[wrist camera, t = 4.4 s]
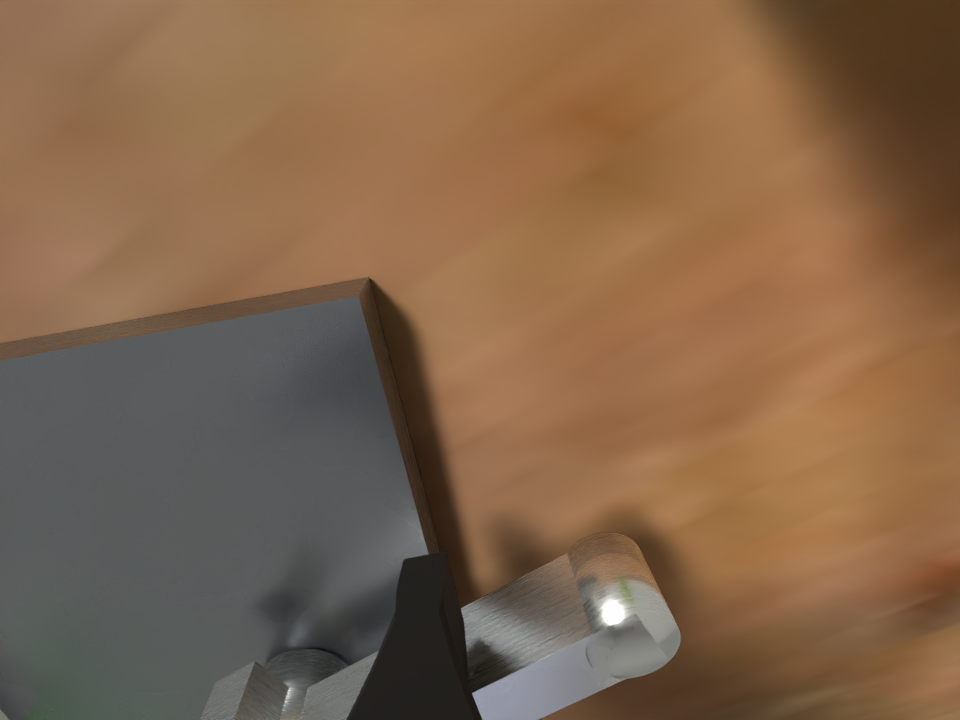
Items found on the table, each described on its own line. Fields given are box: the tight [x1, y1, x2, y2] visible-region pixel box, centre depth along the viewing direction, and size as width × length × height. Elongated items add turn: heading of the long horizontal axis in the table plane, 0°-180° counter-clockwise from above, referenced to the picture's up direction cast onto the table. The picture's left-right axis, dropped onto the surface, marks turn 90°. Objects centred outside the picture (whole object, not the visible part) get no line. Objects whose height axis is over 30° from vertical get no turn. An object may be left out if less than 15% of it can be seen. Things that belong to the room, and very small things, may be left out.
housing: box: [0, 277, 440, 720], centre depth 13 cm, size 14×21×2 cm, turn 99°
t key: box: [200, 532, 681, 720], centre depth 11 cm, size 11×4×3 cm, turn 122°
